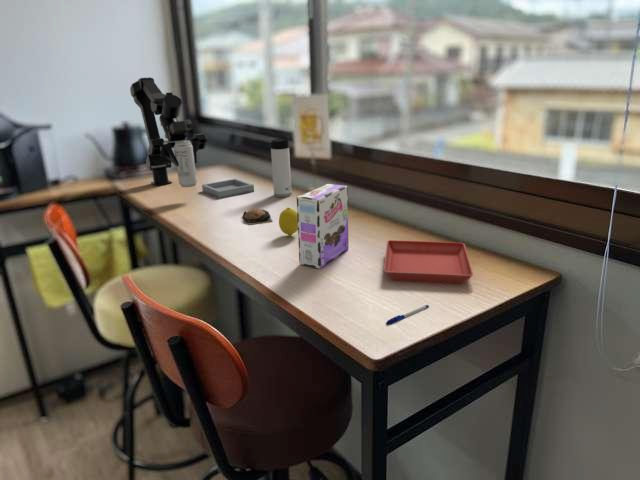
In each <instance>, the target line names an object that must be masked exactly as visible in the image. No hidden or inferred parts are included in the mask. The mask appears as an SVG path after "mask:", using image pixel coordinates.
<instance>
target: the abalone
mask: <svg viewBox="0 0 640 480" xmlns="http://www.w3.org/2000/svg"><path fill="white" fill-rule="evenodd" d="M241 218H242V220H243V222H244V223H245V224H247V225H248V226H255V225H261V224H262V225H263V224H269V223H273V219H272V217H271V214H270V213H269V211H267V210H266V209H264V208H262V209H260V208H252V209H249V210H247V211H244V212H243V214H242V217H241Z"/></svg>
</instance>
